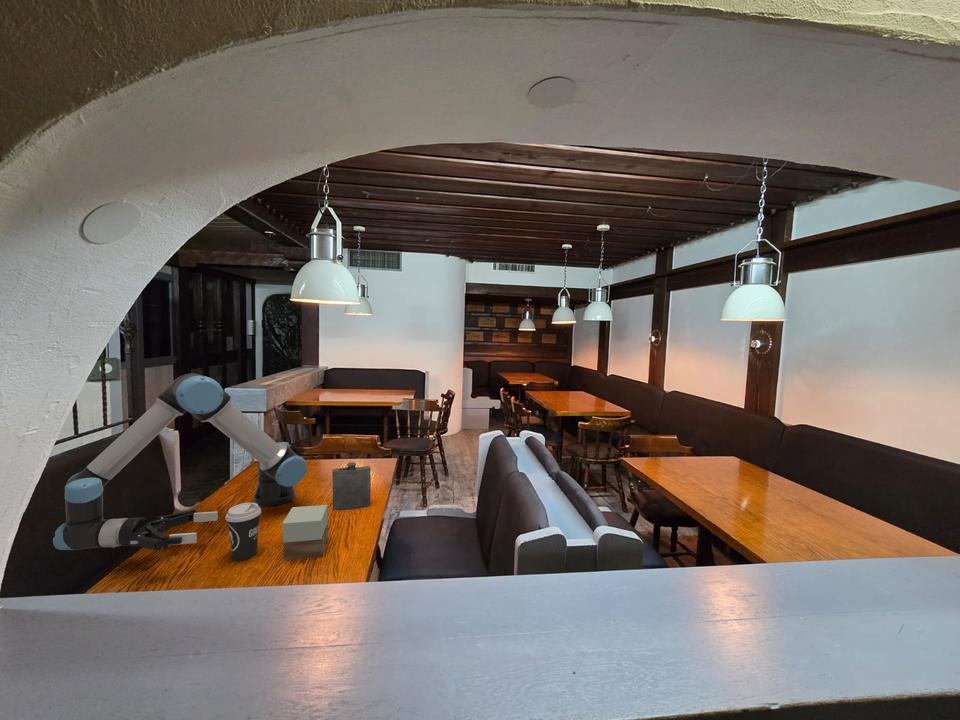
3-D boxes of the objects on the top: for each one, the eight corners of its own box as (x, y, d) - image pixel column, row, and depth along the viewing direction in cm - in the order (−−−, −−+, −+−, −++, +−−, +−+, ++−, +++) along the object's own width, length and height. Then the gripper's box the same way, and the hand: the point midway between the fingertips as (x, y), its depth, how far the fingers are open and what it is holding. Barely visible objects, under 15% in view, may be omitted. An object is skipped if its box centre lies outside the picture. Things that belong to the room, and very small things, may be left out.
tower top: (292, 524, 129) (292, 507, 128) (327, 522, 131) (327, 504, 131) (282, 542, 118) (282, 523, 118) (321, 539, 120) (321, 520, 120)
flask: (370, 507, 155) (370, 463, 154) (332, 511, 151) (331, 466, 150) (370, 503, 158) (370, 460, 157) (333, 507, 154) (332, 463, 153)
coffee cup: (245, 565, 116) (244, 517, 114) (218, 561, 117) (217, 513, 116) (269, 548, 125) (268, 503, 124) (243, 544, 127) (242, 500, 126)
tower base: (293, 542, 129) (292, 525, 129) (328, 539, 132) (328, 521, 131) (284, 561, 118) (283, 542, 118) (322, 557, 121) (322, 539, 120)
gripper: (151, 524, 126) (224, 519, 130) (93, 569, 102) (185, 561, 106) (151, 501, 125) (224, 497, 130) (92, 541, 101) (185, 535, 106)
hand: (207, 526), depth 118 cm, fingers open, 13 cm apart
